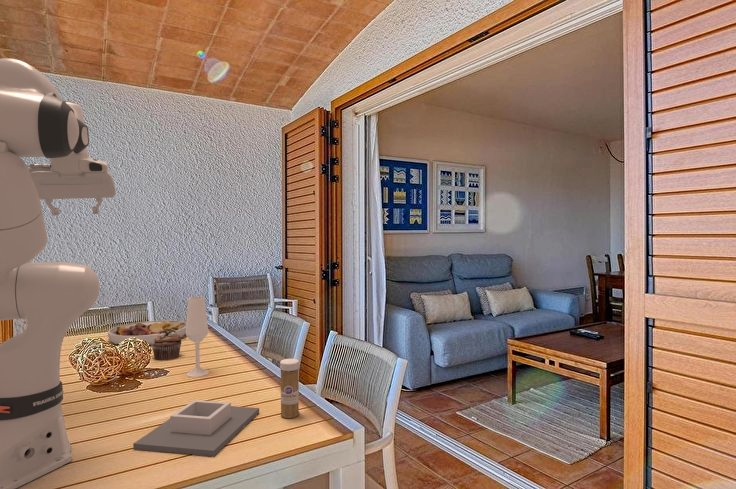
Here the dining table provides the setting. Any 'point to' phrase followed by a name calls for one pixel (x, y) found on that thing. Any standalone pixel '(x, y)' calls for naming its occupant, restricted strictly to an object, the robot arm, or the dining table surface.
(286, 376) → the sprinkles bottle
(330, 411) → the dining table surface
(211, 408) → the socket board
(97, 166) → the robot arm
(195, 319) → the champagne flute
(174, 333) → the cupcake
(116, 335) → the bowl
